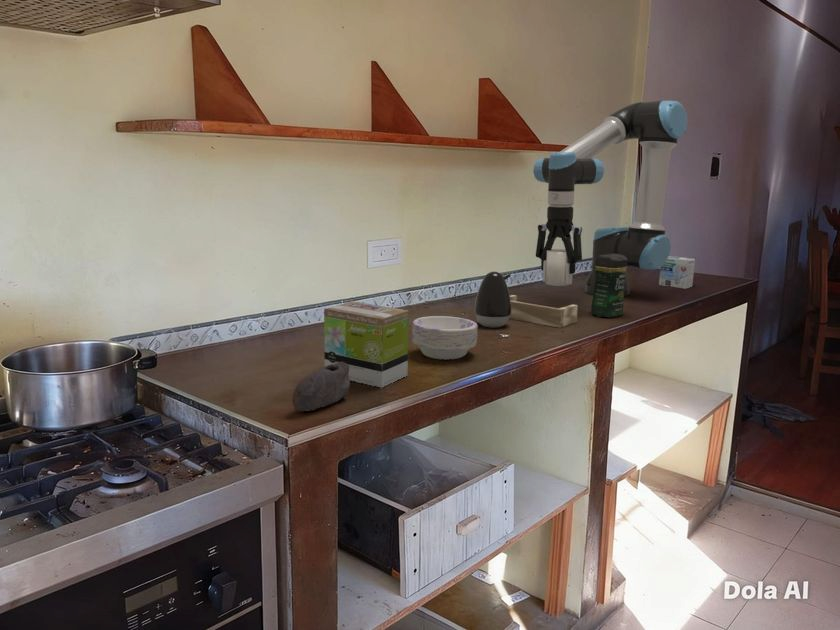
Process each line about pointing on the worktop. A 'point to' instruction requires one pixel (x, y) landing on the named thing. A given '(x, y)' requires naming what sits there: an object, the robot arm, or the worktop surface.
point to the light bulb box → (677, 272)
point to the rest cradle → (543, 313)
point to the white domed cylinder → (556, 267)
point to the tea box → (367, 341)
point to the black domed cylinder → (493, 301)
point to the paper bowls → (444, 336)
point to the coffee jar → (609, 285)
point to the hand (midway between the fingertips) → (557, 282)
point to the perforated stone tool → (322, 387)
